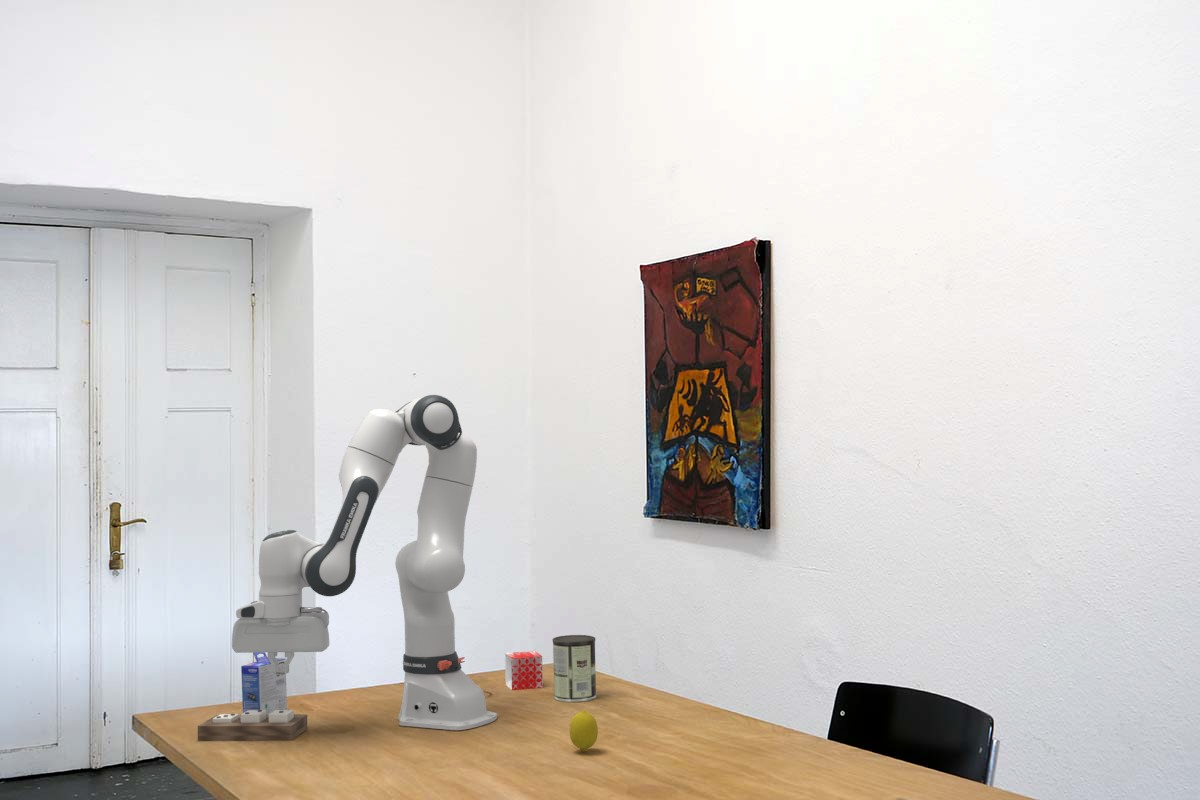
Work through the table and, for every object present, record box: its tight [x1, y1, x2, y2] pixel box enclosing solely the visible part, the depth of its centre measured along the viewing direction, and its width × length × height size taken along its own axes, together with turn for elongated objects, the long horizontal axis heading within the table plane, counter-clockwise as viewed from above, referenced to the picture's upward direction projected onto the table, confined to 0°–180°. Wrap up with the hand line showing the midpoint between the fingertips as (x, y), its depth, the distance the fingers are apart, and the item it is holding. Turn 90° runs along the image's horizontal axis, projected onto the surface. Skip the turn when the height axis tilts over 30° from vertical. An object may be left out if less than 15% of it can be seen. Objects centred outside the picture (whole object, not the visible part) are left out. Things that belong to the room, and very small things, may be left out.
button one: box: [269, 709, 295, 723], centre depth 236 cm, size 4×4×3 cm
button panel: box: [197, 713, 308, 742], centre depth 237 cm, size 20×10×3 cm, turn 87°
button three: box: [213, 713, 240, 723], centre depth 237 cm, size 4×4×3 cm
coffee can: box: [551, 634, 597, 703], centre depth 267 cm, size 10×10×14 cm
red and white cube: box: [504, 650, 544, 691], centre depth 281 cm, size 8×8×8 cm
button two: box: [240, 710, 266, 723], centre depth 237 cm, size 4×4×3 cm
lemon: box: [569, 709, 599, 753], centre depth 218 cm, size 6×6×8 cm
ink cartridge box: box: [240, 652, 288, 715], centre depth 254 cm, size 10×6×14 cm, turn 159°
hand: (281, 673), depth 237 cm, fingers closed
